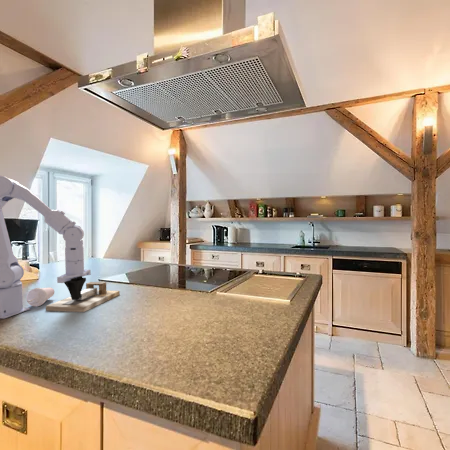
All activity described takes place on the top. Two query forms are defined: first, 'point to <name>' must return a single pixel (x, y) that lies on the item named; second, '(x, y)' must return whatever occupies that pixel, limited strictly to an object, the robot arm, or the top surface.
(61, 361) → the top surface
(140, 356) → the top surface
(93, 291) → the brushed metal block
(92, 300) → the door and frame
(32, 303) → the smoothie
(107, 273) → the top surface
